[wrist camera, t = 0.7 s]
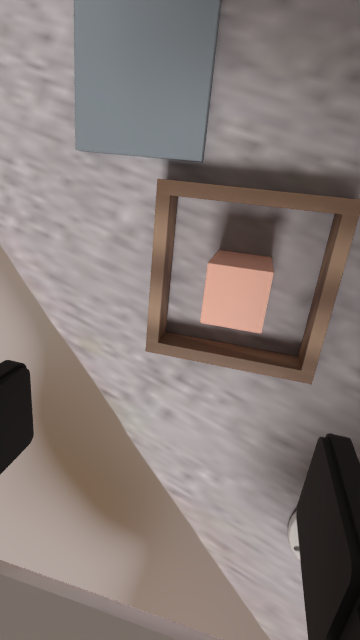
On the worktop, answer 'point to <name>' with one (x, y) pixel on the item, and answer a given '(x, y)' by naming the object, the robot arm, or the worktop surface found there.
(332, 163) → the worktop surface
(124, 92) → the slate mat
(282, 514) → the worktop surface
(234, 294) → the terracotta block
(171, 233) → the brown wooden square frame
